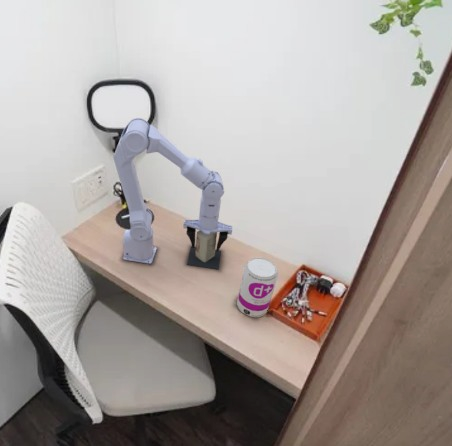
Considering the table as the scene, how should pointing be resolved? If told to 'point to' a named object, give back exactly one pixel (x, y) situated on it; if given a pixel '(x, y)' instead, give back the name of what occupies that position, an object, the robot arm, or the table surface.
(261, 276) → the supplement can
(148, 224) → the robot arm
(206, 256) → the product carton box
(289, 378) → the table surface
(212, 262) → the pad
